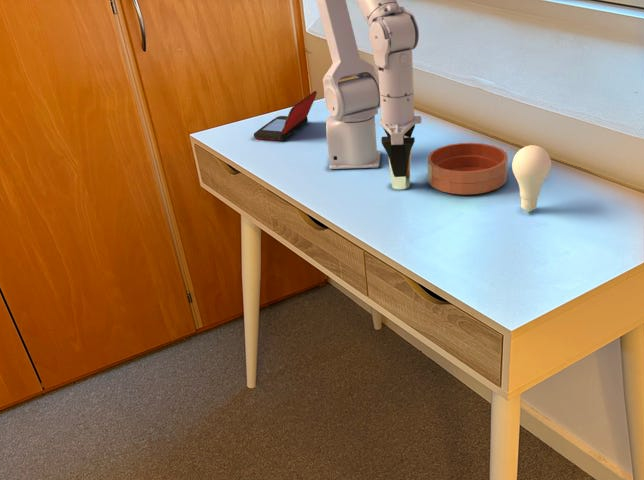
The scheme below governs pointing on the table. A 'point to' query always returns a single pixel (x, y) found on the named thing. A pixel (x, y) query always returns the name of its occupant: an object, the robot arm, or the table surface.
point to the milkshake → (401, 181)
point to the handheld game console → (287, 121)
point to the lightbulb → (530, 173)
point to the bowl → (467, 168)
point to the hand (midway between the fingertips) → (400, 170)
